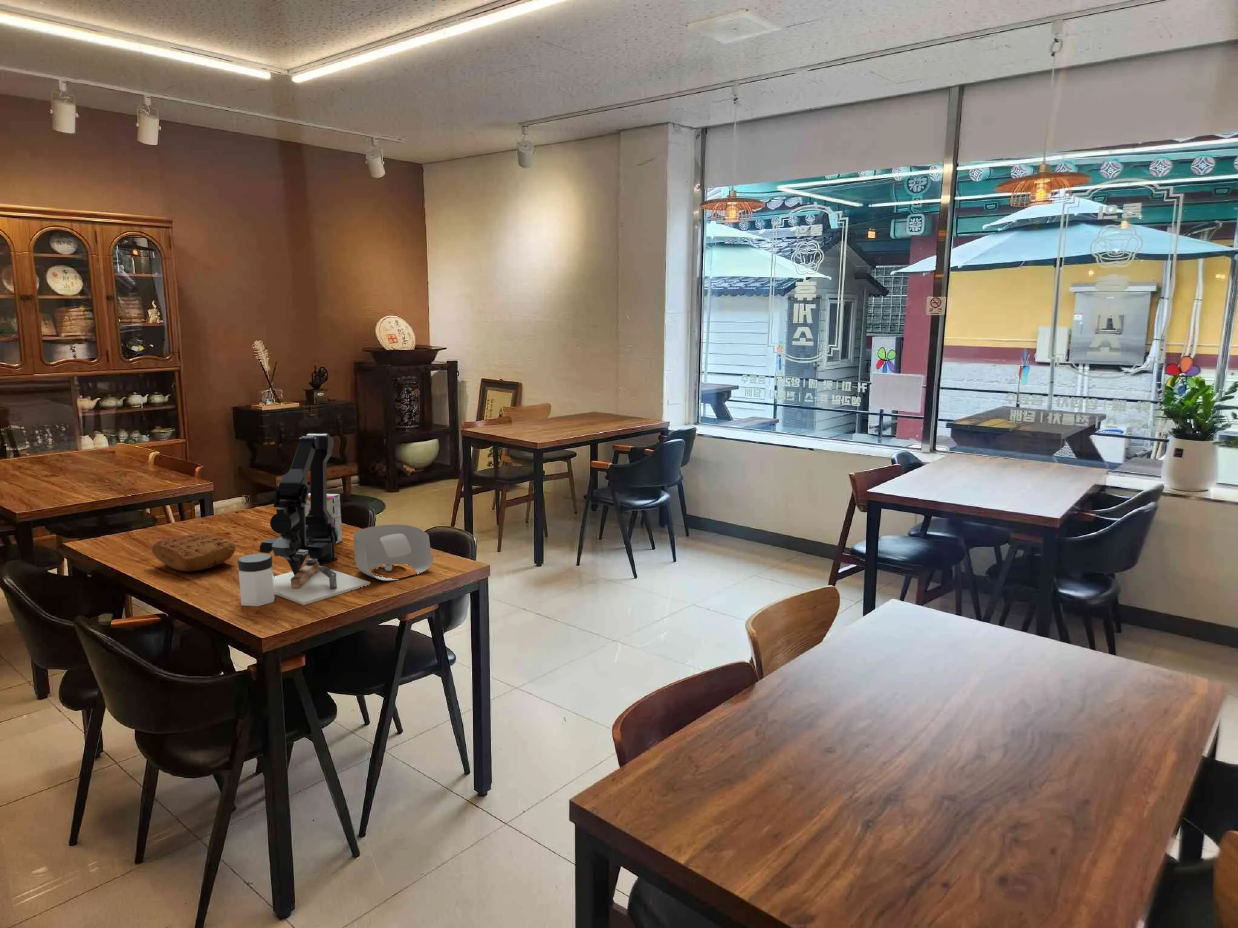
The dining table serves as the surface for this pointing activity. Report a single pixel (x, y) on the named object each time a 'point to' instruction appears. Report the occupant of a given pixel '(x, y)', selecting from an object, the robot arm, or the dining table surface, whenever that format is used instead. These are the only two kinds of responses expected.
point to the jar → (256, 579)
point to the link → (304, 574)
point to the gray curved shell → (391, 548)
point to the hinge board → (315, 587)
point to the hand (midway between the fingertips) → (296, 576)
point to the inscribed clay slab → (193, 551)
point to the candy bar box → (331, 512)
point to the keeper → (325, 572)
